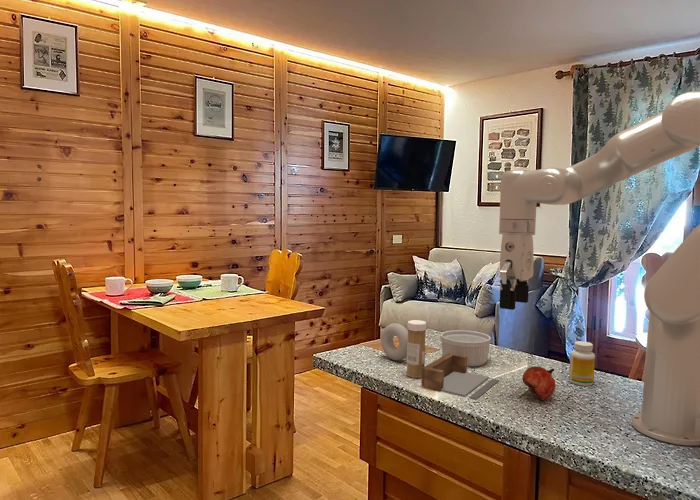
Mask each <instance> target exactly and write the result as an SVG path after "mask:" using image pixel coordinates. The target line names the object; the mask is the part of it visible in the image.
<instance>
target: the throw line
mask: <svg viewBox="0 0 700 500" xmlns="http://www.w3.org/2000/svg"><path fill="white" fill-rule="evenodd" d="M499 382H500V379H497V378H492V379H490V380H489V381H488V382H486V383H485V384H484V385H483V386H481V387H480V388H479V389H478V390H476V391H475V392H474V393H472V394H471V395H469V399H472V400H478V399H479V398H480V397H482V396H483V395H484V394H485V393H486V392H487V391H489V390H490V389H491V388H492V387H494V386H495V385H496V384H498V383H499Z"/></svg>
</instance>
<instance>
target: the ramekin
mask: <svg viewBox="0 0 700 500" xmlns="http://www.w3.org/2000/svg"><path fill="white" fill-rule="evenodd" d="M440 341H441V352H442V357H443V356H444V355H446V354H448V353H454V354H459V355H464V356H467V368H472V367H474V368H476V367H479V366H483V365H484V364H485V363H486V362H487V360H488V357H489V352H490V346H491V343H492V337H491V336H490V335H489V334H486V333H483V332H479V331H474V330H463V329H461V330H460V329H459V330H458V329H455V330H453V329H452V330H447V331H443V332H442V333H440Z"/></svg>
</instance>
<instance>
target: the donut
mask: <svg viewBox="0 0 700 500" xmlns="http://www.w3.org/2000/svg"><path fill="white" fill-rule="evenodd" d="M394 337H396V338H397V339H398V344H399V345H398V347H397V346H396V345H395V343H394V339H395V338H394ZM407 341H408V329H407V327H405V325H402V324H401V323H398V322H397V323H396V322H393V323H390V324H387V325H386V326H385V327H384V328H383V330H382V332H381V336H380V343H381V348H382V351H383V352H384V354H385V355H386V356H387V357H388V358H389V359H390V360H391V359H392V360H393V361H397V362H399V361H400V362H401V361H403V360H405V359H407Z"/></svg>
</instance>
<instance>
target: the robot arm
mask: <svg viewBox="0 0 700 500" xmlns="http://www.w3.org/2000/svg"><path fill="white" fill-rule="evenodd" d="M699 147H700V90H692V91H687V92H684V93H681V94H679V95H677V96H675V97H673V98H672V99H671V100H670V101H669V102H668V103H667V104H666V105H665V108H664V109H663V111H661V112H659V113H657V114H655V115H653V116H651V117H650V118H649V117H648V118H647V119H645V120H642V121H640V122H639V123H635V124H634V125H633V126H630V127H628V128H626V129H624V130H622V131H620V132H618V133H616V134H615V135H613V136H612V137H611V138H609V140H607V142H606V144H605V145H604V146H603V147H602V148H601V149H600V150H599V151H596V153H594V154H592V155H591V156H589V157H587V158H585V159H583V160H581V161H579V162H577V163H575V164H573V165H571V166H569V167H565V168H559V167H558V168H557V167H546V168H541V169H540V168H539V169H534V170H529V169H528V170H527V169H514V170H513V169H512V170H507V171H504V172H503V173H502V175H501V177H500V195H499V225H498V227H499V228H498V235H502V237H501V244H500V257H499V277H500V280H499V283H500V285H499V308H500V309H502V310H503V309H504V310H512V311H513V310H515V309H516V303H523V304H526V303H527V304H528V302H529V289H530V288H529V285H530V281H529V279H532V278H533V277H534V237H533V236H535V235H536V227H537V226H536V224H537V222H536V221H537V220H536V218H537V204H543V205H553V206H554V205H555V206H565V205H570V204H572V203H575V202H578V201H580V200H582V199H585V198H587V197H590V196H592V195H594V194H597V193H598V192H601V191H603V190H605V189H607V188H609V187H611V186H613V185H615V184H617V183H620V182H622V181H625V180H627V179H629V178H630V177H633V176H635V175H637V174H639V173H641V172H643V171H646V170H649V169H650V168H653V167H654V166H657V165H660V164H662V163H664V162H666V161H667V162H668V161H669V160H672V159H673V158H676V157H678V156H681V155H683V154H685V153H687V152H691V151H693V150H694V149H696V148H699ZM643 294H644V296H643V297H644V298H643V299H644V302H645V306H646V308H647V309H648V311H649V315H648V316H649V317H648V324H647V325H648V327H647V328H648V329H647V334H646V335H647V337H646V347H645V348H646V350H645V351H646V352H645V361H644V362H645V363H644V364H645V365H644V373H643V374H644V376H643V389H642V390H643V392H642V400H641V401H642V405H641V412H637V413H634V415H632V418H631V425H632V427H633V428H634V429H635V430H636V431H638V432H639V433H641V434H643V435H645V436H647V437H649V438H652V439H655V440H657V441H661V442H665V443H667V444H673V445H678V446H679V445H680V446H689V447H690V446H691V447H692V446H694V447H695V446H697V447H698V446H700V223H699V224H698V225H696V226H695V228H693V230H691V232H690V233H689V234H688V235H687V236H686V238H685V239H684V240H683V241H682V242H681V244H679V245H678V247H677V248H676V249H675V250H674V252H672V253H671V254H670V256H669V257H668V258H667V259H666V260H665V262H663V264H662V265H661V266H660V267H659V269H658V270H657V271H656V272H655V273H654V274H653V275H652V277H651V278H649V280H647V283H646V285H645V289H644V293H643Z"/></svg>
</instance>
